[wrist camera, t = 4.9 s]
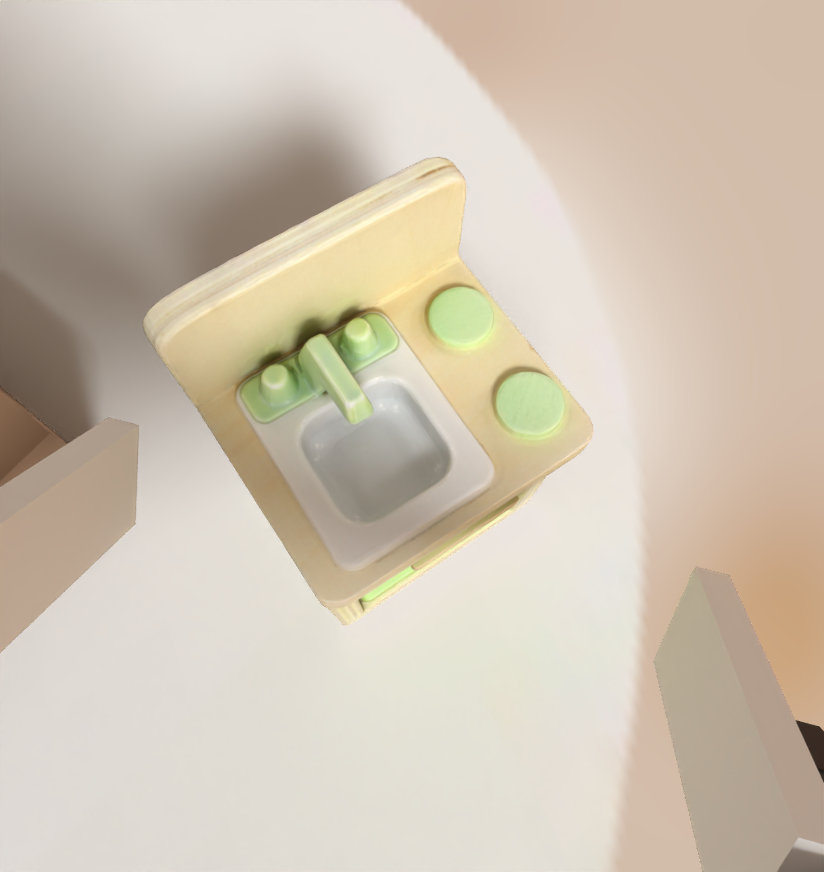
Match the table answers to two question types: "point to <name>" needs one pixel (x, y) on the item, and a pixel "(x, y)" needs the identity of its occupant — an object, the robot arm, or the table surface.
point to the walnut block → (22, 439)
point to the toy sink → (369, 387)
